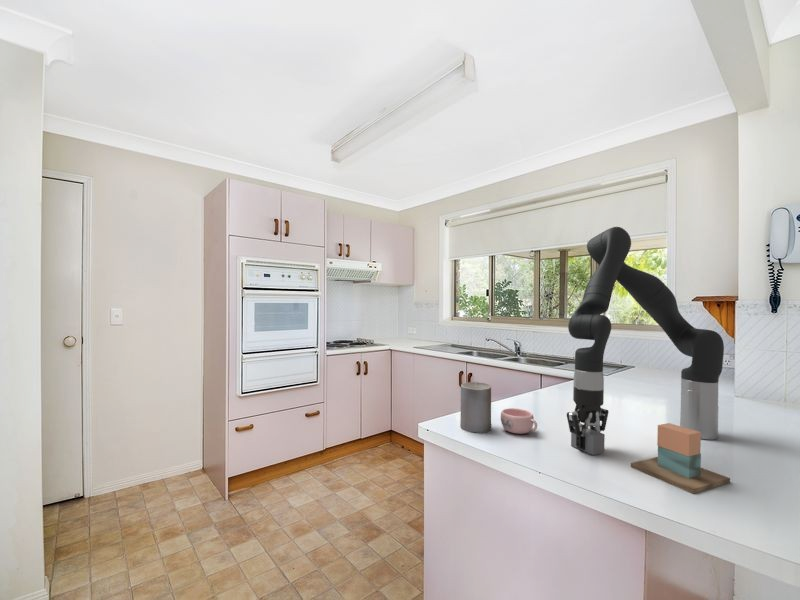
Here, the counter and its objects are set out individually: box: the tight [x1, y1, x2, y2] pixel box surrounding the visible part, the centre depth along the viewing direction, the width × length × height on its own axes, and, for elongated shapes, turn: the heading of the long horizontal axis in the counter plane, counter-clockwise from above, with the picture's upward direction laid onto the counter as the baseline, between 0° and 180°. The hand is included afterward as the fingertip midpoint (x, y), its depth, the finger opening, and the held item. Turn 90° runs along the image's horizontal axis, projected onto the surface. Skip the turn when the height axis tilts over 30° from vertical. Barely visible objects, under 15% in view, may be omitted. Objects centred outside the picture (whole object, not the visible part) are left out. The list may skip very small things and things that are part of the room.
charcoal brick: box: [570, 427, 606, 456], centre depth 105 cm, size 4×7×5 cm, turn 24°
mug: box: [500, 407, 538, 435], centre depth 118 cm, size 12×10×6 cm
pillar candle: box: [459, 381, 492, 434], centre depth 121 cm, size 10×10×15 cm
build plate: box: [630, 445, 731, 495], centre depth 91 cm, size 14×14×6 cm
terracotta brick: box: [656, 422, 702, 456], centre depth 91 cm, size 4×7×5 cm, turn 24°
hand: (587, 447), depth 105 cm, fingers closed on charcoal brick, 4 cm apart
